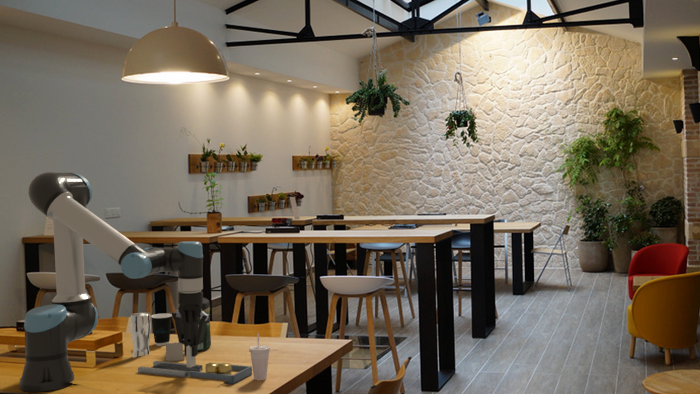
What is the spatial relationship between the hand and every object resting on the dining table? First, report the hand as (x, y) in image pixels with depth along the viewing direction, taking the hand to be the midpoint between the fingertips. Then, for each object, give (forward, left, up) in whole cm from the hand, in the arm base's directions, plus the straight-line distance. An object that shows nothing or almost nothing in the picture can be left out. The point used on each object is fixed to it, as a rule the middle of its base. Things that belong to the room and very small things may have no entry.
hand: (191, 366), depth 208 cm
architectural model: (+12, +16, -4) cm, 20 cm away
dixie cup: (+34, +37, -4) cm, 50 cm away
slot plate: (0, +8, -3) cm, 9 cm away
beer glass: (+16, +32, -4) cm, 36 cm away
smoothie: (+5, -22, -4) cm, 23 cm away
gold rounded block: (0, -8, -3) cm, 8 cm away
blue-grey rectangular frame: (+3, -9, -3) cm, 10 cm away
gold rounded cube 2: (+1, -11, -3) cm, 12 cm away
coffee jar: (+32, +19, -4) cm, 37 cm away
